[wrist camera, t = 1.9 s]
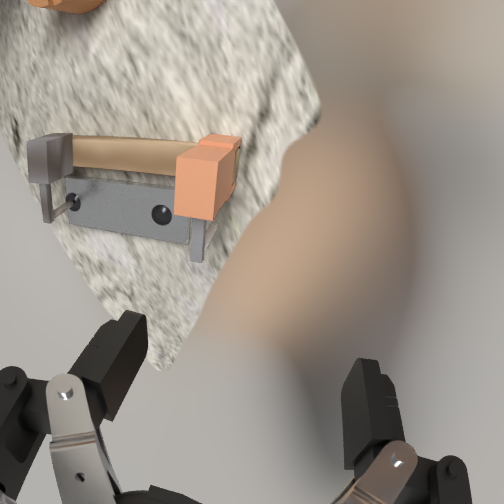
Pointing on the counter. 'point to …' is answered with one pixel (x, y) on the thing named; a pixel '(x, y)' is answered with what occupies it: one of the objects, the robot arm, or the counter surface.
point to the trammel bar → (99, 159)
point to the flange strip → (126, 208)
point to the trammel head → (204, 186)
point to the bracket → (68, 5)
